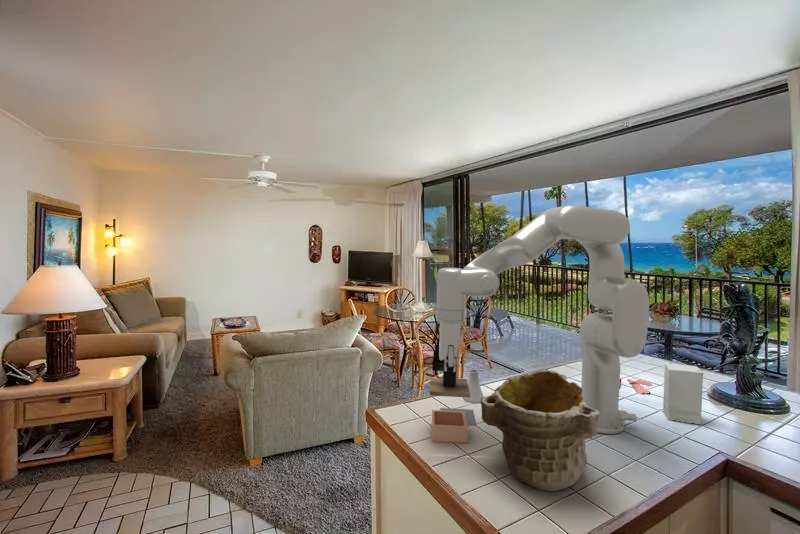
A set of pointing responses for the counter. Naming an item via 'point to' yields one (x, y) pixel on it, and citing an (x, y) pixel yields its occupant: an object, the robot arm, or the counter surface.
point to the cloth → (638, 387)
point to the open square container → (449, 426)
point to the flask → (474, 388)
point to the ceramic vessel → (542, 428)
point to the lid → (449, 388)
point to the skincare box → (683, 393)
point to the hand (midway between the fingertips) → (449, 382)
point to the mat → (468, 414)
